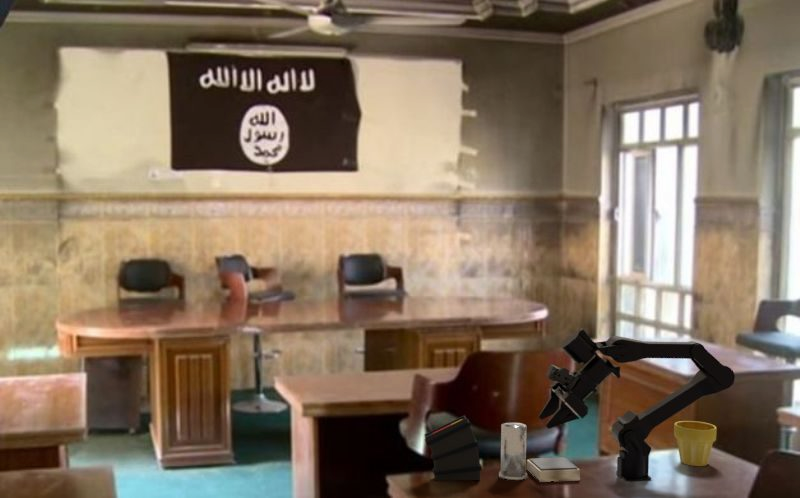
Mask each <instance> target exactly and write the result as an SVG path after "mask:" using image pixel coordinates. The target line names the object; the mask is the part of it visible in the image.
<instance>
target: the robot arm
mask: <svg viewBox="0 0 800 498" xmlns="http://www.w3.org/2000/svg"><path fill="white" fill-rule="evenodd" d="M560 348H561V349H562V350H563V352H564V353H566V355H568V356H569V357H570V359H572V361H573V362H575V364H576V365H578V364H582V365H584V366H583V367H582V368H580V369H579V370H573V371H572V372H570V370H569V369H568V368H565V367H564V366H561V367H558V366H556V365H554V364H549V365H550V366H549V367H548V370H547V371H546V373H545V377H547V379H549V380H551V381H552V383H550V384H549V386H550V387H549V388H548V390H549V397H548V400H547V401H546V403H545V405H544V406H543V408H542V410H541V411H540V413H539V415H538V418H539V419H540V420H545V419H547V418H549V417H550V418H549V419H548V421H547V422H546V424H545V427H546V428H547V429H549V430H550V429H552V428H556V427H558V426H561V425H563V424H566V423H570V422H573V421H575V420H580V418H581V419H584V418H585V417H586V416H587V415H588V414H589V407H588V406H587V405H586V404H585V403H586V402H585V400H586V398H588V397H589V396H590V395H591V394H592V393H593V394H596V393H597V392H598V390H597V388H599V387H600V385H601V384H602V383H603V382H604V381H605V380H606V379H608V377H610V375H613V376H614V377H616V378H617V379H621V366H619V365H614V364H613V363H612V361H614V362H616V363H619V364H625V363H631V362H637V361H640V360H644V359H687V360H688V359H690V360H691V361H692V363H693V364H694V365H695V366H696V367H697V368H698V371H697V372H696V373H695V375H694V376H693V377H692V378H691V380H690V381H689V382H688V383H686V384H684V385H683V386H681V387H680V388H678V389H676V390H675V391H674V392H672V393H670V394H669V395H667V396H666V397H664V398H663V399H661V400H660V401H659V400H658V401H657V403H655V404H653V405H651V406H650V407H649V408H647V409H645V410H643V411H642V412H639V413H635V412H634V411H633V410H631V409H629V410H628V411H626V412H625V413H624V414H623V415H621V416H619V417H616V421H614V423H612V426H611V435H612V438H613V439H614V440H615V441H616V442H617V443H618V446H619V447H620V449H619V453H618V454H619V456H617V459H616V460H617V463H616V472H615V473H616V475H618V476H620V477H621V478H622V479H623V480H625V481H626V482H627V481H628V482H630V481H650V480H652V477H651V476H650V475H649V462H650V458H649V457H650V454H651V451H652V447H651V446H650V445H649V444H648V443H647V442H646V441H645V440H646V439H647V438H648V437H649V435H651V433H652V431H653V429H655V428H656V427H658V426H659V425H661V424H662V423H664V422H666V421H667V420H669V419H670V418H671V417H673V416H675V415H677V414H678V413H680V412H681V411H683V410H685V409H686V408H687V407H689V406H690V405H693V404H694V403H695V402H697V401H698V400H700V399H702V398H704V397H708V396H710V395H711V396H712V395H715V394H718V393H721V392H723V391H726V390H728V389H730V388H732V386H733V385H734V384H735V380H736V375H735V372H734V371H733V369H732V368H731V367H729V366H727V365H725V364H723V363H721V362H720V361H719V360H718V359H717V358H716V357H714V355H712V354H711V352H709V351H708V350H707V349H706V348H705V346H704V345H703V344H702V343H700V342H698V341H693V340H691V341H642V340H637V339H635V338H629V337H625V336H621V335H620V336H619V335H613V336H610V337H609V338H608V339H606V340H603V341H596V342H595V341H593V339H592V338H591V337H589V335H588V334H587V332H586V330H584V329H583V328H579V329H578V330H577V331H574V332H573V333H572V334H570V335H567V336H566V338H565V339H564V340H563V341H562V343H561V344H560ZM597 352H598V353H600V354H602V355H603V356H605V357H603V358H602V357H601V356H600V355H599V354H598V353H597ZM607 357H608V358H607ZM609 359H611V360H612V361H610V360H609Z"/></svg>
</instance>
